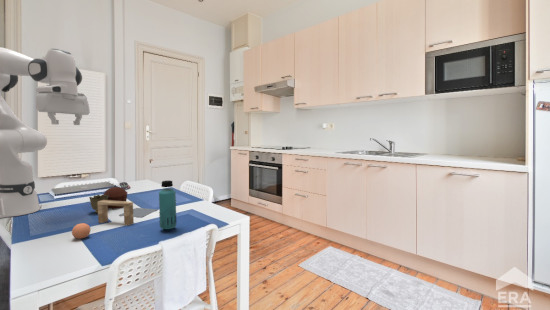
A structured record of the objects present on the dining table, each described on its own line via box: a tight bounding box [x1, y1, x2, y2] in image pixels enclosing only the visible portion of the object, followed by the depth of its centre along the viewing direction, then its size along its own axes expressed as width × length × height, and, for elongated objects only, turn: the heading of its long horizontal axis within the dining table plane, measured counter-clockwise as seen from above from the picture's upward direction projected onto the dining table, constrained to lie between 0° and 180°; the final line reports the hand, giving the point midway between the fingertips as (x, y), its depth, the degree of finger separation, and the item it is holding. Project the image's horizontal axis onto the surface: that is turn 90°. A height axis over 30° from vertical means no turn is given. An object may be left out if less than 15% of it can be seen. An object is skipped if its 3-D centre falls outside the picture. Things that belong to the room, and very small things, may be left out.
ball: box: [71, 222, 91, 240], centre depth 96 cm, size 6×6×6 cm
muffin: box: [102, 186, 128, 210], centre depth 135 cm, size 12×11×10 cm
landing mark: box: [118, 207, 159, 218], centre depth 127 cm, size 12×12×1 cm
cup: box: [89, 194, 108, 214], centre depth 126 cm, size 8×7×8 cm
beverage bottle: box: [158, 180, 178, 230], centre depth 105 cm, size 6×7×20 cm
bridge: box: [97, 200, 135, 226], centre depth 112 cm, size 3×14×9 cm, turn 80°
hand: (66, 124), depth 109 cm, fingers open, 8 cm apart
